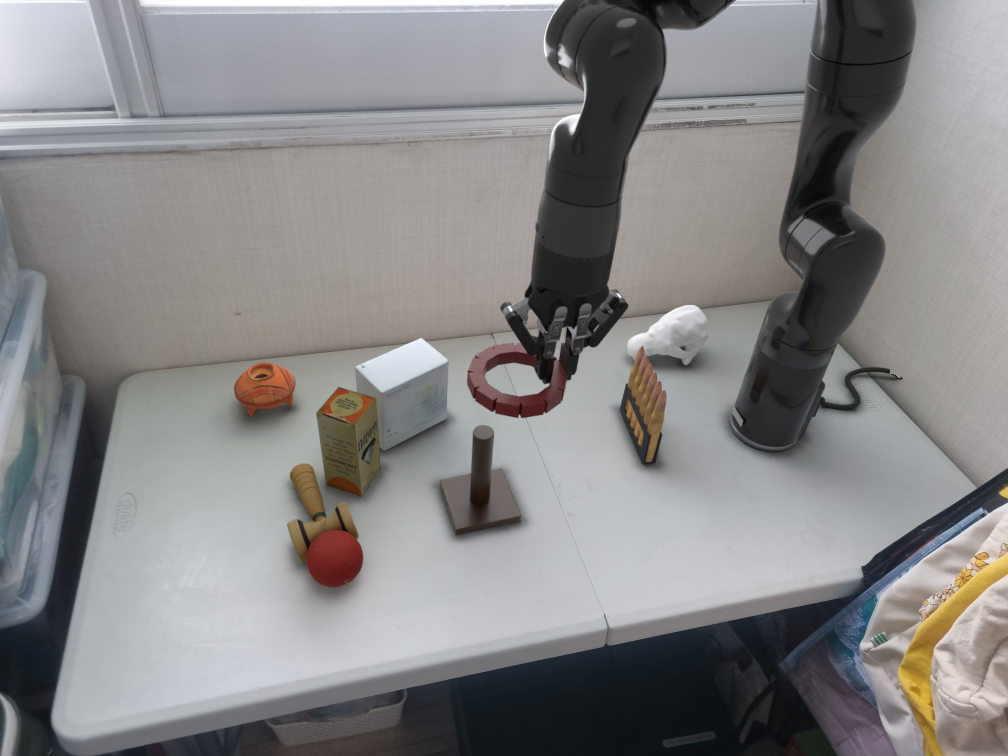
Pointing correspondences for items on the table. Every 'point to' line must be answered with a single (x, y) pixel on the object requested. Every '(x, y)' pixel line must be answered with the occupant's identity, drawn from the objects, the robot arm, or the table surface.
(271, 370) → the pot
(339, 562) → the kendama
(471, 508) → the brown peg stand
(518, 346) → the ring
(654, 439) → the ammunition clip
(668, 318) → the white lumpy piece
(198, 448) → the table surface
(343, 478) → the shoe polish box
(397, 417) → the cosmetics box
